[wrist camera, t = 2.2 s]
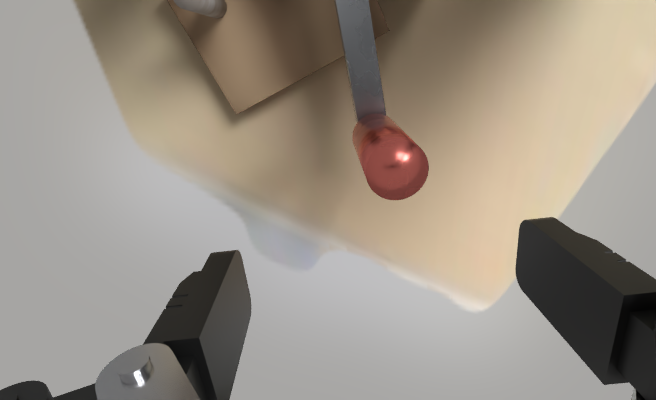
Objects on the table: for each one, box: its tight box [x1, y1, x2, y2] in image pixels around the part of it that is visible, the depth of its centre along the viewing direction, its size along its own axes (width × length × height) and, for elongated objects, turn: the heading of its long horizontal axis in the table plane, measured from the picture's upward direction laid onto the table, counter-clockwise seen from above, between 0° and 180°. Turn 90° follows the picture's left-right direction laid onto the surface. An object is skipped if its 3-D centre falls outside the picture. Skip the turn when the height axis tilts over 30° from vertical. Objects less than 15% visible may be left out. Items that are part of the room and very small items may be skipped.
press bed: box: [167, 0, 390, 114], centre depth 26 cm, size 15×10×9 cm
